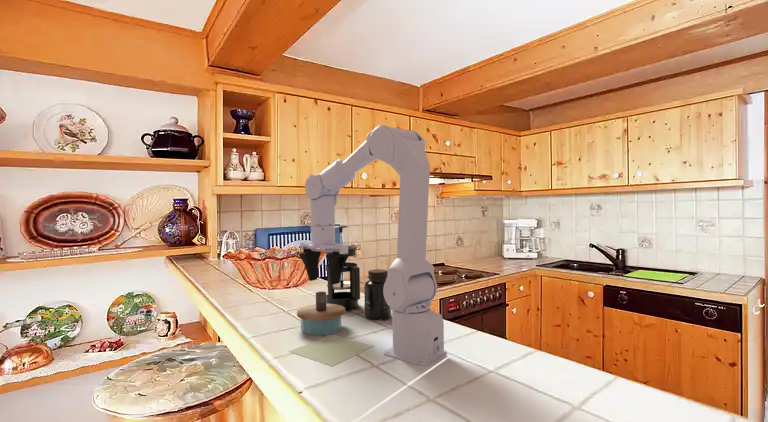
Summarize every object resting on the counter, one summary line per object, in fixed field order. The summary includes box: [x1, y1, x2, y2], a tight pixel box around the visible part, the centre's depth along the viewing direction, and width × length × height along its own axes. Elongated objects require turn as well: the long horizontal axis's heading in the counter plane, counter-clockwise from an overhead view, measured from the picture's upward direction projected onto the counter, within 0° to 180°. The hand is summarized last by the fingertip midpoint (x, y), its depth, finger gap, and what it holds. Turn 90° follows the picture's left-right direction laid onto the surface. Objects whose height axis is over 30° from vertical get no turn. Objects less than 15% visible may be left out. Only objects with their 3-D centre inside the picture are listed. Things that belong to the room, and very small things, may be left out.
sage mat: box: [288, 333, 375, 367], centre depth 78 cm, size 12×12×1 cm
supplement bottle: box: [364, 268, 392, 321], centre depth 99 cm, size 7×7×12 cm
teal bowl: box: [300, 316, 342, 336], centre depth 90 cm, size 9×9×4 cm
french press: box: [324, 225, 361, 312], centre depth 109 cm, size 12×9×23 cm
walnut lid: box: [296, 291, 346, 321], centre depth 90 cm, size 11×11×5 cm
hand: (323, 281), depth 94 cm, fingers open, 7 cm apart
